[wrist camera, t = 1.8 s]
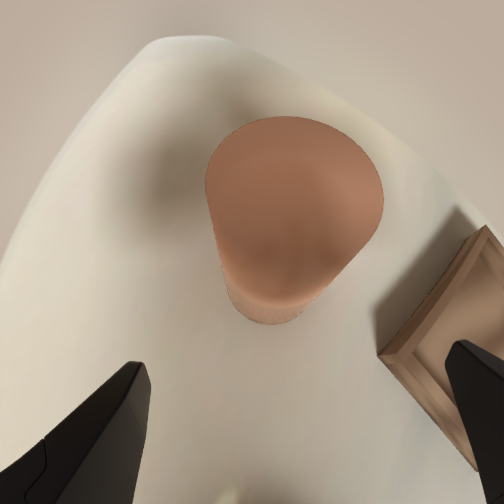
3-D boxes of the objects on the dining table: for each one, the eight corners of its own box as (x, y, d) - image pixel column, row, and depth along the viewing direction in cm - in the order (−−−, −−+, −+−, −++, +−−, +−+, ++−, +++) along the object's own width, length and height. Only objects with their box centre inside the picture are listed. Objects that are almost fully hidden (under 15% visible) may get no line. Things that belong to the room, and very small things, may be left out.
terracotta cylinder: (331, 285, 21) (413, 195, 10) (266, 343, 19) (294, 310, 8) (274, 225, 22) (297, 97, 11) (208, 275, 21) (170, 171, 10)
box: (543, 352, 18) (563, 347, 15) (475, 471, 15) (496, 477, 12) (466, 238, 22) (485, 224, 20) (377, 356, 19) (396, 353, 16)
